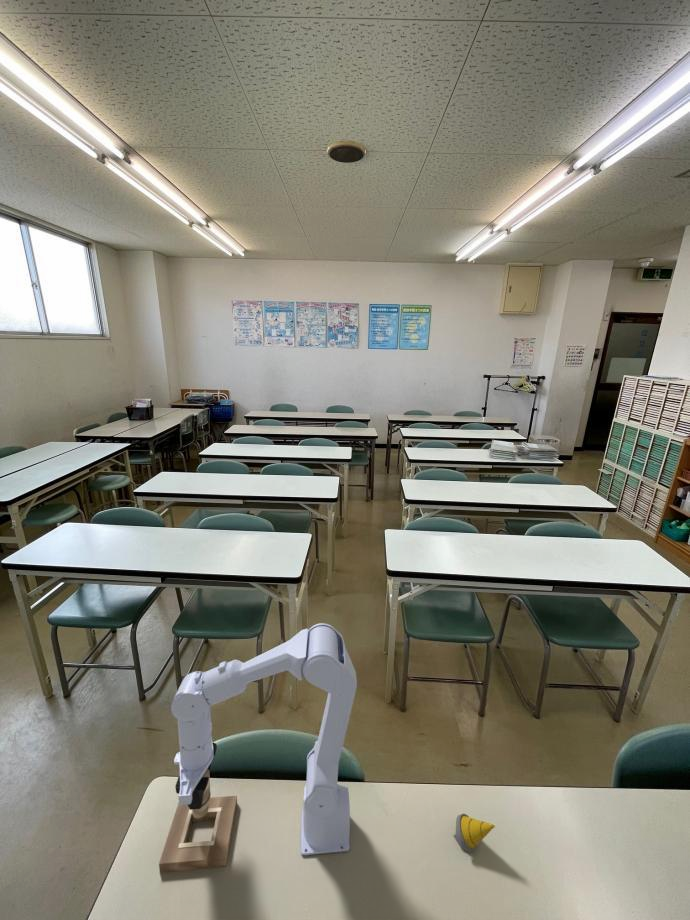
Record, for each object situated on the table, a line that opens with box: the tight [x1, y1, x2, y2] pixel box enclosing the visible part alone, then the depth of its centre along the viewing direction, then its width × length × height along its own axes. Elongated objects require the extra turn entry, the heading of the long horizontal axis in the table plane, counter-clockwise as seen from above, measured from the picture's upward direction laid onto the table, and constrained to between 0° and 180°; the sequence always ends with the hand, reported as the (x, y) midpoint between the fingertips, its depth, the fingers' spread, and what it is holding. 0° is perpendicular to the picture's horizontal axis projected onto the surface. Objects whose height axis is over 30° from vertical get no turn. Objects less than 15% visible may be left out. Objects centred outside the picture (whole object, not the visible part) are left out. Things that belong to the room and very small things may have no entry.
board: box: [158, 795, 238, 873], centre depth 75 cm, size 12×11×2 cm
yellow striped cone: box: [453, 813, 496, 853], centre depth 74 cm, size 5×5×10 cm
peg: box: [192, 768, 211, 818], centre depth 74 cm, size 4×4×8 cm
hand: (199, 794), depth 74 cm, fingers closed on peg, 4 cm apart
